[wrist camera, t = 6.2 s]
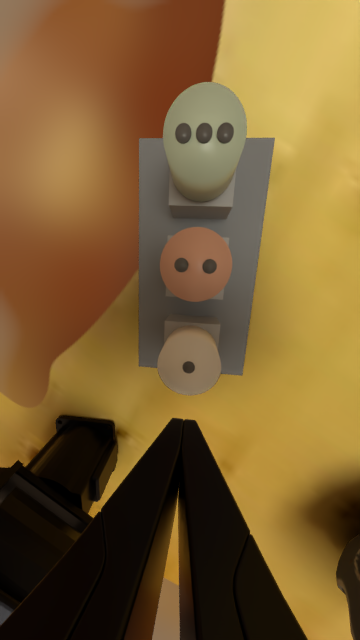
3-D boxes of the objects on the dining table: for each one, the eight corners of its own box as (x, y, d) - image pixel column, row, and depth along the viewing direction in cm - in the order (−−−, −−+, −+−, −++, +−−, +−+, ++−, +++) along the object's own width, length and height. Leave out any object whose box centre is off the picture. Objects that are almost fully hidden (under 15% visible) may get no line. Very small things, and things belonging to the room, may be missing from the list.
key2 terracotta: (171, 292, 15) (158, 299, 10) (173, 243, 14) (160, 225, 9) (218, 295, 15) (228, 304, 10) (222, 245, 14) (236, 227, 9)
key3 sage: (174, 214, 14) (161, 179, 9) (176, 155, 13) (164, 80, 8) (225, 216, 13) (241, 180, 8) (231, 155, 12) (252, 78, 8)
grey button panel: (144, 356, 19) (128, 381, 14) (146, 156, 15) (125, 106, 11) (237, 364, 18) (250, 393, 14) (264, 156, 14) (293, 103, 10)
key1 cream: (168, 357, 16) (156, 392, 11) (170, 316, 15) (157, 334, 10) (211, 361, 16) (218, 399, 11) (215, 319, 15) (224, 339, 10)
